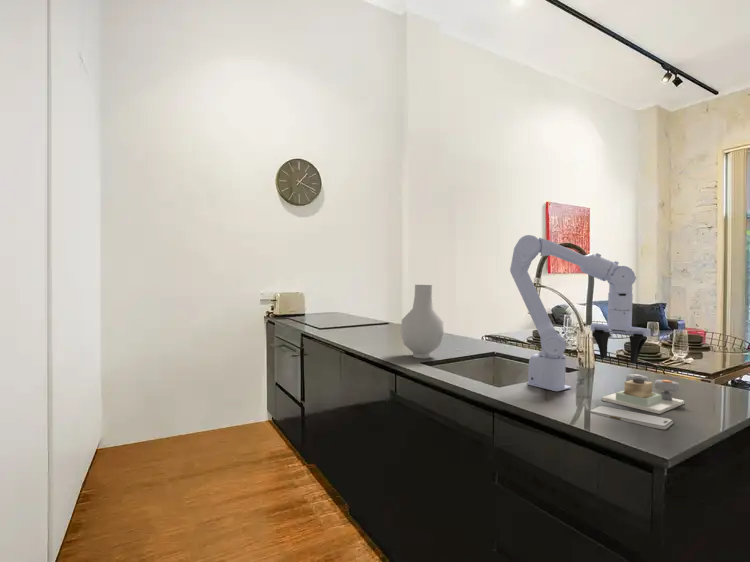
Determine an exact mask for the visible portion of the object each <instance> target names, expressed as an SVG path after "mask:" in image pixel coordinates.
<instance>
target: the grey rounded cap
mask: <svg viewBox="0 0 750 562" xmlns="http://www.w3.org/2000/svg"><path fill="white" fill-rule="evenodd" d="M654 382H655V383H654V384H655V385H654V388H655V389H656V390H660V391H663V392H664V393H672V392H676V393H677V392H679V391H680V383H679V382H677V381H674V380H673V381H672V380H670V379H669V380H668V379H655V381H654Z"/></svg>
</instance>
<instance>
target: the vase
mask: <svg viewBox="0 0 750 562" xmlns="http://www.w3.org/2000/svg"><path fill="white" fill-rule="evenodd" d="M432 293H433V285H432V284H414V298H413V303H412V309H410V311H409V312H408V313H407V314H405V316H404V317H403V318H402V319H401V324H400V335H401V339H402V343H403V345H404V346H405V347H406V348H408V350H409V351H411V352H412V357H413V358H416V359H429V358H430V357H431V355H430V354H431V353H432V352H433V351H435V350H436V349H438V348H439V347H440V346H441V343H442V340H443V337H444V334H445V333H444V332H445V331H444V321H443V319H442V318H441V317H440V316H439V315H438V313H437V312H436V311H435V310H434V309H433V308H434V307H433V298H432V297H433V294H432Z"/></svg>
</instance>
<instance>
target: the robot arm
mask: <svg viewBox="0 0 750 562" xmlns="http://www.w3.org/2000/svg"><path fill="white" fill-rule="evenodd" d="M539 254H540V257H547V256H548V257H549V256H551V257H552V256H553V257H555V258H557V259H560V260H563V261H566V262H568V263H571V264H573V265H576V266H578V267H579V270H580V272H581V273H583V274H586V275H588V276H590V277H592V278H595V279H598V280H600V281H603V282H606V281H607V283H608V286H609V288H608V289H609V290H608V297H607V300H608V301H607V324H605V323H591V324H590V331H593V332H592V336H593V338H594V340H595V343H596V344H597V347H598V350H599V354H600V358H601V359H606V358H607V357H608V343H609V337H610V333H614V334H623V335H630V336H629V338H628V339H629V343H630V363H632V364H635V363H638V362H637V361H638V358H639V356H640V355H639V354H640V353H641V351H642V348H643V346H644V345H645V343H646V342H647V340H648V337H651V336H652V335H651V333H652V332H651V331H652V330H651V328H644V327H638V326H632V325H633V324H632V322H633V320H632V319H633V298H634V297H633V296H634V294H633V285H634V283H636V280H637V276H636V275H635V272H634V270H633V269H632V268H631V267H629V266H626V265H619V264H620V262H619V261H616V260H615V261H612V260H609V259H606V258H604V257H602V254H599V253H597V252H596V253H595V254H594V253H589V254H585V255H584V254H581V253H579V252H577V251H574V250H572V249H570V248H568V247H565V246H563V245H561V244H558V243H556V242H554V241H551V240H549V239H545V238H543V237H536V236H535V235H533V234H526V235H523V236H521V237H520V238H519V239H518V240H517V242H516V244H515V246H514V248H513V253H512V256H511V257H512V258H511V263H510V268H509V272H510V274H511V276H512V279H513V280H514V283H515V285H516V288H517V289H518V292H519V293H520V295H521V298H522V301H523V302H524V305H525V307H526V309H527V312H528V313H529V315H530V317H531V319H532V322H533V323H534V326H535V329H536V331H537V332H538V335H539V337H540V341H539V342H540V348H541V350H540V351H539V352H538V353H533V354H532V355H531V356H530V358H529V361H528V375H527V377H528V381H527V382H526V385H528V386H533V387H535V388H541V389H545V390H549V391H553V392H561V391H564V390H570V389H572V386H570V385H567V384H566V366H567V365H566V363H567V361H566V360H567V355H566V354H564V353H565V351H566V347H567V344H566V341H565V340H564V338H563V337H562V335H561V334H560V333H559V332H558V331H556V329H555V326H554V325H553V323H552V320H551V318H550V317H549V314H548V311H547V310H546V308H545V305H544V303H543V301H542V299H541V298H540V295H539V293H538V291H537V288H536V286H535V285H534V282H533V280H532V278H531V275H530V273H529V272H528V271H529V268H530V266H531V264H532V262H533V260H534V259H535V258H536V257H537V256H538V255H539Z"/></svg>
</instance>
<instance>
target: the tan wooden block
mask: <svg viewBox="0 0 750 562" xmlns="http://www.w3.org/2000/svg"><path fill="white" fill-rule="evenodd" d="M623 390H624V394H628V395H632V396H637V397H642V398H647V397H650V396H652V392H653V382H652V381H648V382H647V381H644V379H640V378H633V380H630V381H627V382H626V381H624V389H623Z"/></svg>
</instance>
